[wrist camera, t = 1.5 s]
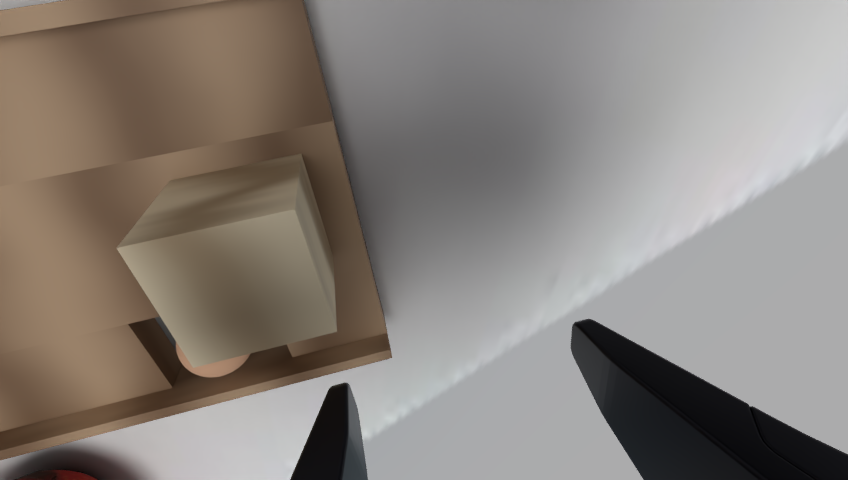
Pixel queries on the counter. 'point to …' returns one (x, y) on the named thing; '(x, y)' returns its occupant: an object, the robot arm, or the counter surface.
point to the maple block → (236, 260)
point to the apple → (56, 475)
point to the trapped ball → (212, 365)
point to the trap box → (149, 201)
